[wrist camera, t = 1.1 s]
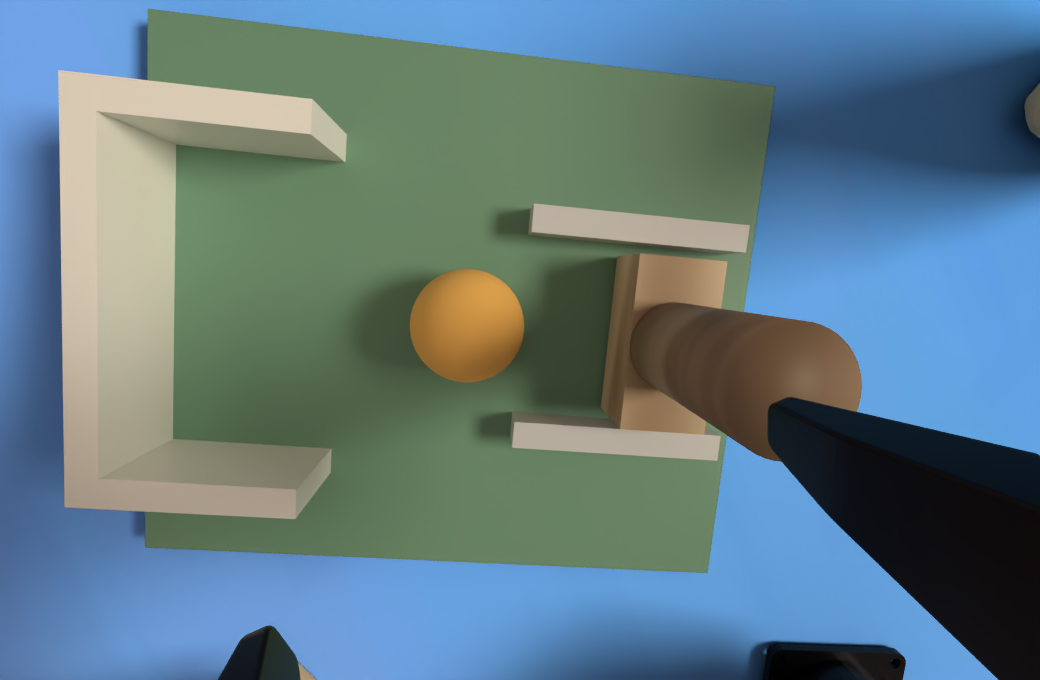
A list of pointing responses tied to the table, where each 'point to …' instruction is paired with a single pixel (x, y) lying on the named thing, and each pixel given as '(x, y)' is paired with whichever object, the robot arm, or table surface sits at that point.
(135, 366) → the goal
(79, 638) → the table surface
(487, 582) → the table surface
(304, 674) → the grandmother figurine
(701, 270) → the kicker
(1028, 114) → the food model
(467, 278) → the ball
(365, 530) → the pitch
